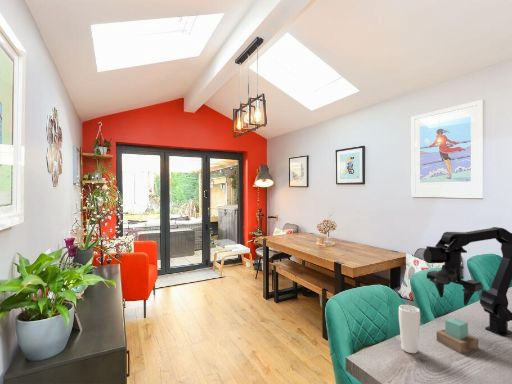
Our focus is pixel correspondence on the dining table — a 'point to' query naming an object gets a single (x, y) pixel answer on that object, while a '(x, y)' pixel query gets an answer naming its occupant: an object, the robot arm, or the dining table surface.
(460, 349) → the walnut block
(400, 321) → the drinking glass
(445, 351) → the dining table surface
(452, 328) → the teal cube
